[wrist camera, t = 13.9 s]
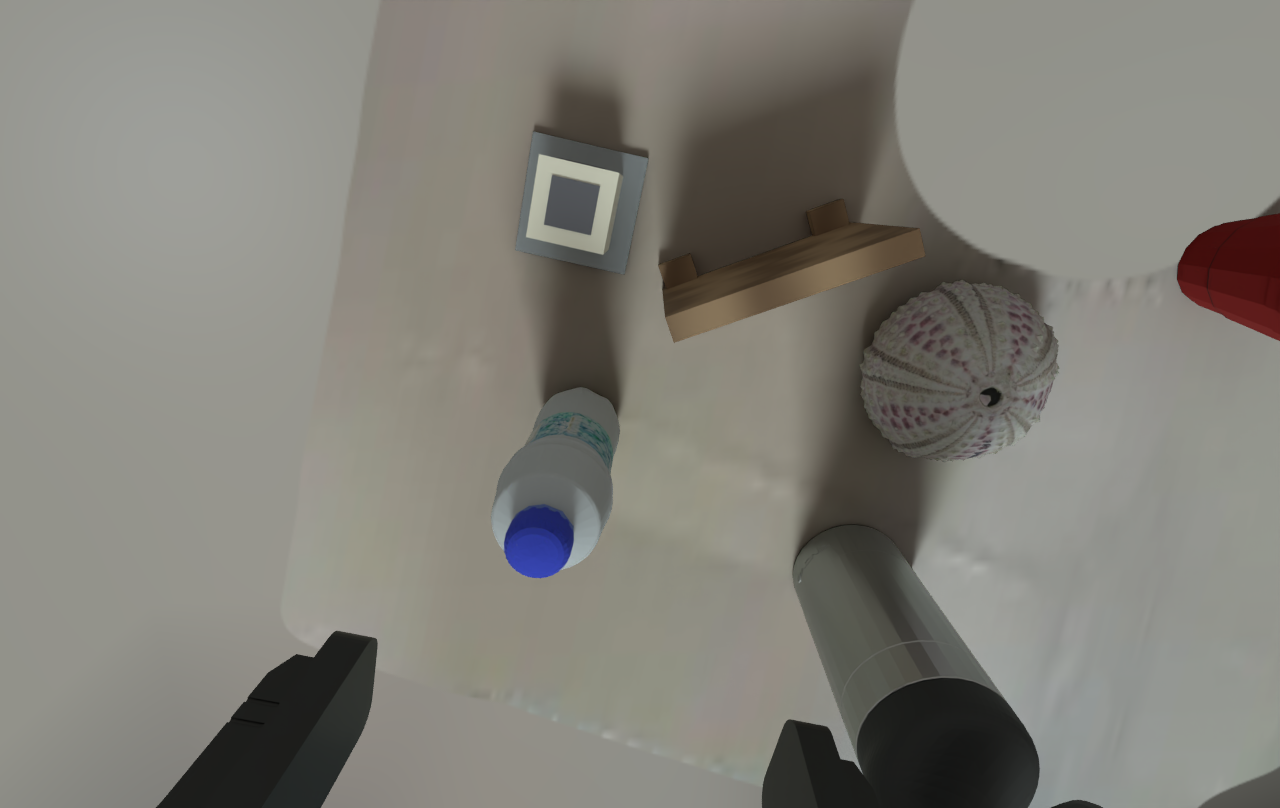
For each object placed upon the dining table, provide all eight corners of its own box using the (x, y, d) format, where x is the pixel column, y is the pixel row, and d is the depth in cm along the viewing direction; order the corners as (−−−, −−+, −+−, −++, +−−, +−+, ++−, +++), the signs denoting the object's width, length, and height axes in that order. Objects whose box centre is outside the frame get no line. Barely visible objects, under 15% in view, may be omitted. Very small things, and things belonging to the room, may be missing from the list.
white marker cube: (608, 249, 44) (603, 254, 39) (539, 233, 43) (525, 237, 39) (623, 175, 42) (619, 171, 37) (552, 158, 42) (539, 152, 37)
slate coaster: (648, 158, 42) (648, 158, 42) (624, 273, 45) (624, 274, 44) (534, 132, 42) (533, 131, 41) (516, 249, 44) (515, 250, 44)
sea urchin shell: (1066, 331, 46) (1150, 356, 38) (953, 476, 49) (1008, 526, 42) (920, 242, 44) (976, 250, 36) (814, 400, 48) (845, 437, 40)
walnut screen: (843, 197, 43) (912, 194, 31) (860, 266, 44) (932, 287, 33) (654, 266, 45) (654, 286, 33) (676, 330, 46) (683, 371, 35)
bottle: (541, 374, 47) (465, 487, 28) (627, 383, 47) (609, 503, 28) (536, 454, 49) (462, 610, 30) (619, 463, 49) (597, 624, 30)
